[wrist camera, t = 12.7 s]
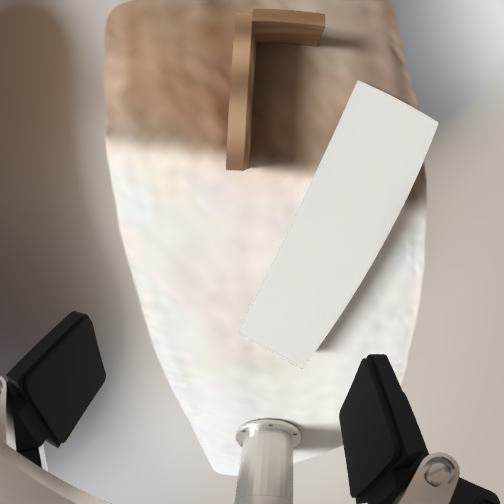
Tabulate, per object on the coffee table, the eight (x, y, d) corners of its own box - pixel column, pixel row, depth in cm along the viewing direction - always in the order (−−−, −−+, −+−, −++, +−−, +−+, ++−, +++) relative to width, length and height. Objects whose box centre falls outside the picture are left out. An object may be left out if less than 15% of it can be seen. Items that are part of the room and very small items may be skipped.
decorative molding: (249, 317, 41) (308, 350, 39) (236, 332, 37) (302, 369, 35) (357, 93, 29) (428, 130, 27) (357, 80, 25) (438, 122, 23)
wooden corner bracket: (311, 172, 31) (319, 176, 25) (235, 167, 31) (226, 169, 25) (317, 35, 25) (325, 14, 19) (243, 31, 25) (236, 9, 20)
